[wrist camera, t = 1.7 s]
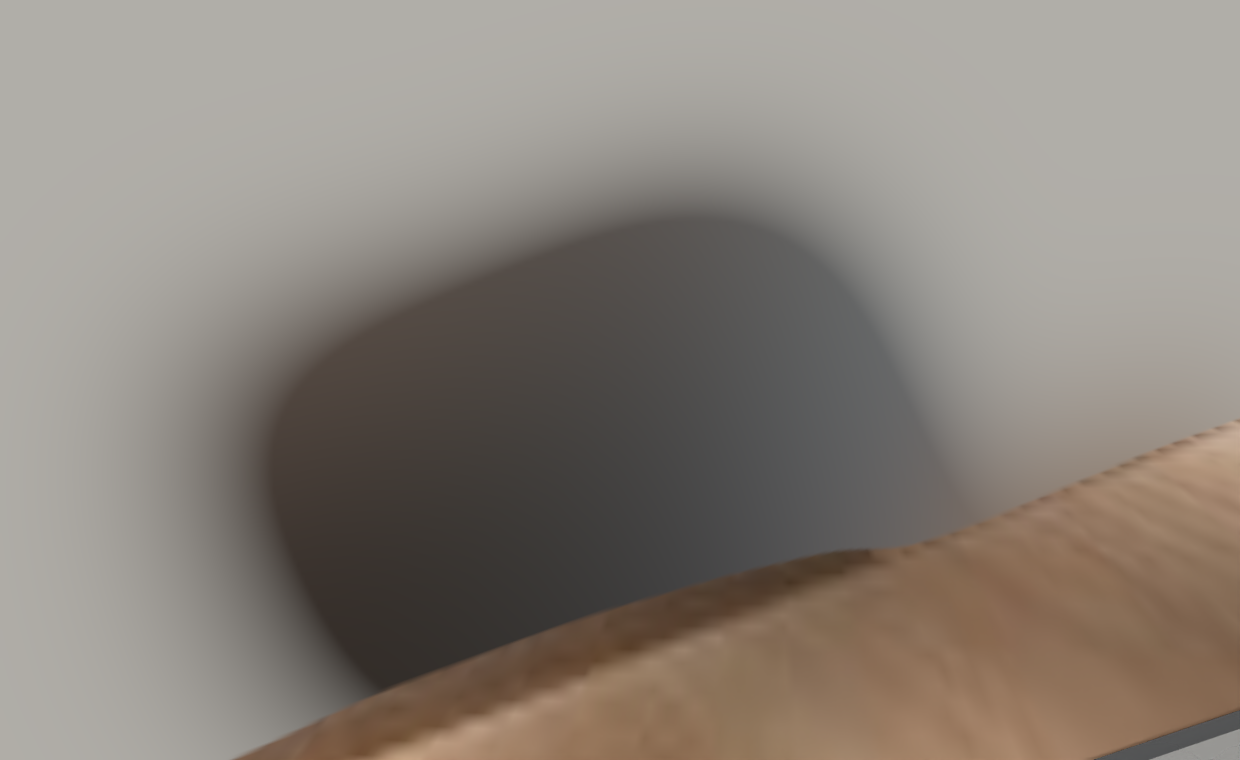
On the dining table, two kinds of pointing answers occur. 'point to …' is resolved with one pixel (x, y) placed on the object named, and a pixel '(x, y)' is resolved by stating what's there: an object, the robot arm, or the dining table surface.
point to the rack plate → (1191, 743)
